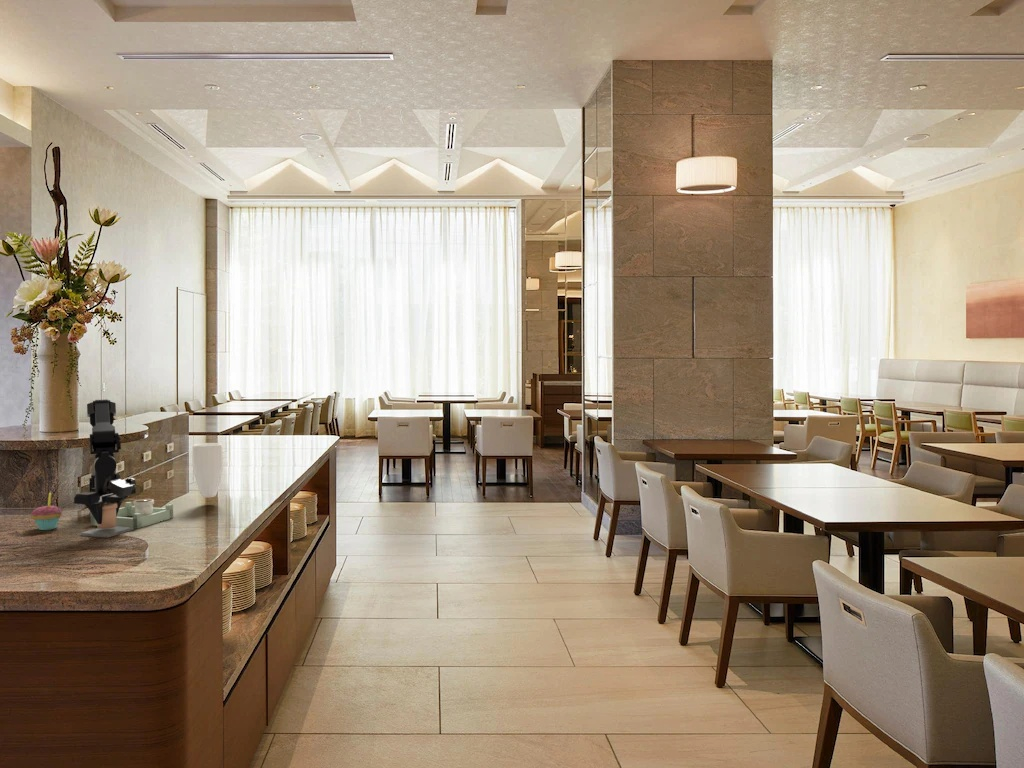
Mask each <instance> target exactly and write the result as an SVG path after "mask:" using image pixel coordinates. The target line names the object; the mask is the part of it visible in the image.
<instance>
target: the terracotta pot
mask: <svg viewBox="0 0 1024 768" xmlns="http://www.w3.org/2000/svg"><path fill="white" fill-rule="evenodd" d="M117 507H118V506H117V503H116V502H105V504H104V505H103V506H102V523H101V524H98V523H97V528H98V529H109V528H114V527H116V526H117V521H116V508H117Z"/></svg>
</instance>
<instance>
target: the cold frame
mask: <svg viewBox="0 0 1024 768" xmlns="http://www.w3.org/2000/svg"><path fill="white" fill-rule="evenodd" d="M89 515H90V526H95V527H96V526H97V522H96V520H95V518H94V517H93V515H92V513H91V512H90V511H89ZM131 516H132V517H131ZM170 518H171V519H174V504H170V503H169V504H165V507H153V514H150V515H146V516H143V517H141V513H135V506H134V505H133V501H126V502H124V506H123V507H120V508H119V511H118V514H117V517H116V521H117V526H120V527H133V529H141V528H144V527H147V526H151V525H155V524H157V523H161V522H163V520H164V521H167V520H170ZM160 521H161V522H160Z"/></svg>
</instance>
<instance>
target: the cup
mask: <svg viewBox="0 0 1024 768" xmlns="http://www.w3.org/2000/svg"><path fill="white" fill-rule="evenodd" d="M223 459H224V457H223V443H221V442H220V443H219V442H204V443H201V442H200V443H195V444H193V445H192V468H193V471H192V472H193V476H194V480H195V484H196V486H197V489H198V492H199V494H200V496H201V498H214V497H216V496H217V494H218V492H219V487H220V485H221V481H222V475H223V469H224V468H223V467H224V466H223V462H224V461H223Z"/></svg>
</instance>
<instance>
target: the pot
mask: <svg viewBox="0 0 1024 768" xmlns="http://www.w3.org/2000/svg"><path fill="white" fill-rule="evenodd" d="M154 504H155V499H153V498H144V499H137V500H136V499H135V500H133V501H132V506H135V513H141V517H143V516H146V515H150V514H153V508H154Z"/></svg>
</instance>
